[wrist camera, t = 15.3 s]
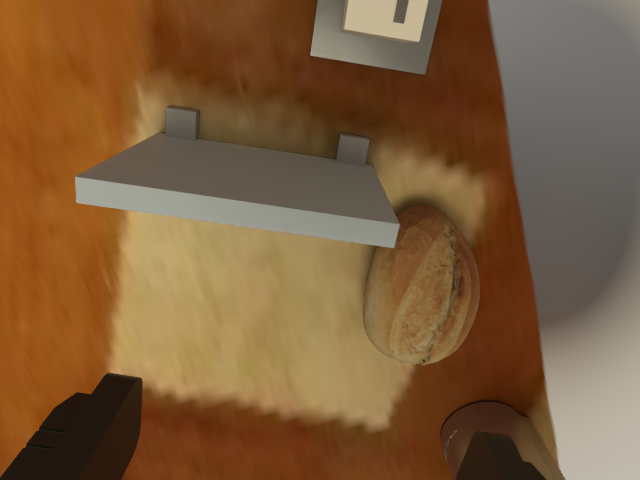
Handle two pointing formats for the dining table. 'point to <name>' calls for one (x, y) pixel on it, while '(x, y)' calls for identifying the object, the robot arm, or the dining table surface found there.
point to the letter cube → (385, 19)
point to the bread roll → (421, 289)
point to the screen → (245, 185)
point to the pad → (371, 41)
